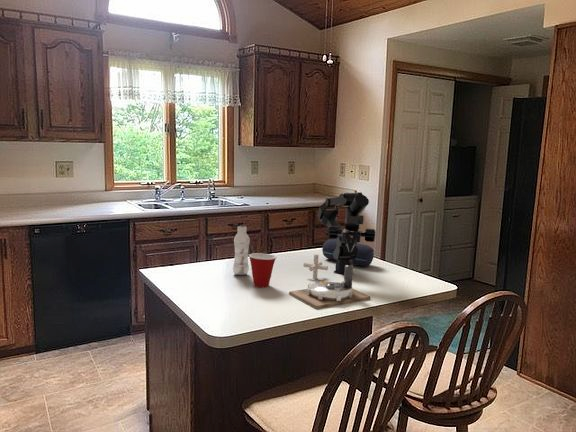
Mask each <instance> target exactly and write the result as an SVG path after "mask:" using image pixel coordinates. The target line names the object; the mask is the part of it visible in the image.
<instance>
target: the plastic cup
mask: <svg viewBox="0 0 576 432" xmlns="http://www.w3.org/2000/svg"><path fill="white" fill-rule="evenodd" d="M248 257H249V260H250V267H251V275H252V276H251V277H252V282H253V286H254V287H257V288H267V287H269V285H270V282H271V278H272V273H273V269H274V264H275V261H276V259H277V256H276V255H274V254H270V253H259V252H258V253H257V252H256V253H255V252H254V253H250V254H249V253H248Z"/></svg>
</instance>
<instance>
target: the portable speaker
mask: <svg viewBox="0 0 576 432" xmlns="http://www.w3.org/2000/svg"><path fill="white" fill-rule="evenodd" d="M356 246H357V249H358V251H357V255H356V259H352V263H353V266H359V267H363V268H364V267H370V265H371V264H372V262H373V260H374V254H375V253H374V248H373V247H371V246H370V245H368V244H364V243H363V244H362V243H360V242H357V244H356ZM336 247H337V243H336V241H335V239H328V240H326V241H325V242H324V243H323V245H322V248H321V249H322V251H321V252H322V255H323V256H324V257H325V258H326V259H328V260H332V261H335V262H336V259H335V258H334V257H333V252H334V250H335V249H336Z"/></svg>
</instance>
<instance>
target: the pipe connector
mask: <svg viewBox="0 0 576 432" xmlns="http://www.w3.org/2000/svg"><path fill="white" fill-rule="evenodd" d="M303 268H308V270H309V271H310V272H312V279H313V280H317V279H318V271H319V270H320V271H321V270H323V271H328V269H329V267H328V265H323V262H322V261H319V254H318V253H314V254H313V263H311V262H303Z"/></svg>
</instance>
